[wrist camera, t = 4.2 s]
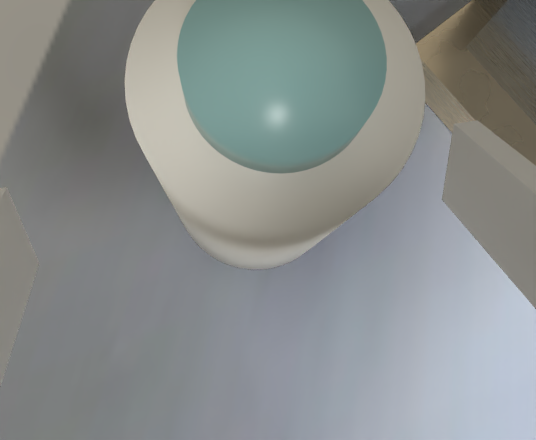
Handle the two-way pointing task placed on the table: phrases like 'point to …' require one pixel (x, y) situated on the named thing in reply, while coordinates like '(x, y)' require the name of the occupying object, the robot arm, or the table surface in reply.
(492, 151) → the robot arm
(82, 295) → the table surface
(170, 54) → the cream bottle
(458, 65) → the grey open box
